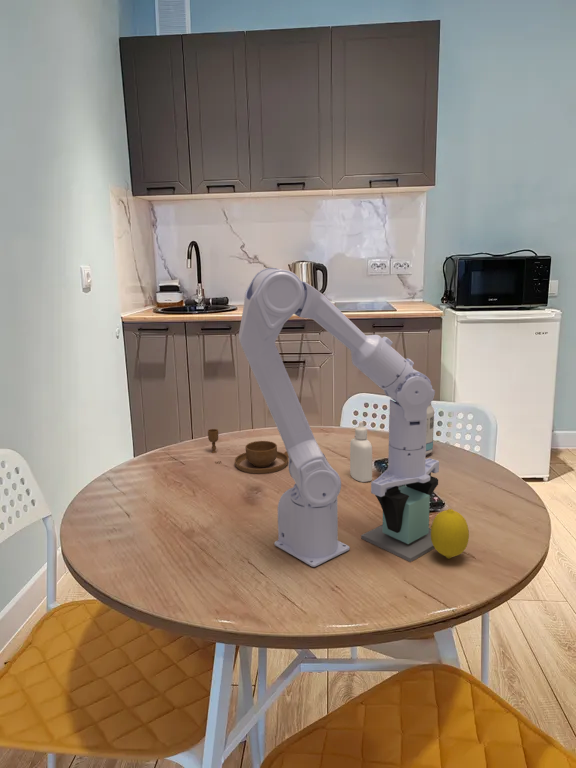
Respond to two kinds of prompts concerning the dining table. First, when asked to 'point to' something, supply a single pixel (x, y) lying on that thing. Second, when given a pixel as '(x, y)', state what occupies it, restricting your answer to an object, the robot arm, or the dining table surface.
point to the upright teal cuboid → (412, 517)
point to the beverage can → (429, 429)
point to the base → (399, 544)
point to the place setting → (255, 455)
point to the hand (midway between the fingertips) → (405, 524)
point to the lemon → (449, 533)
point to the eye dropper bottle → (361, 455)
